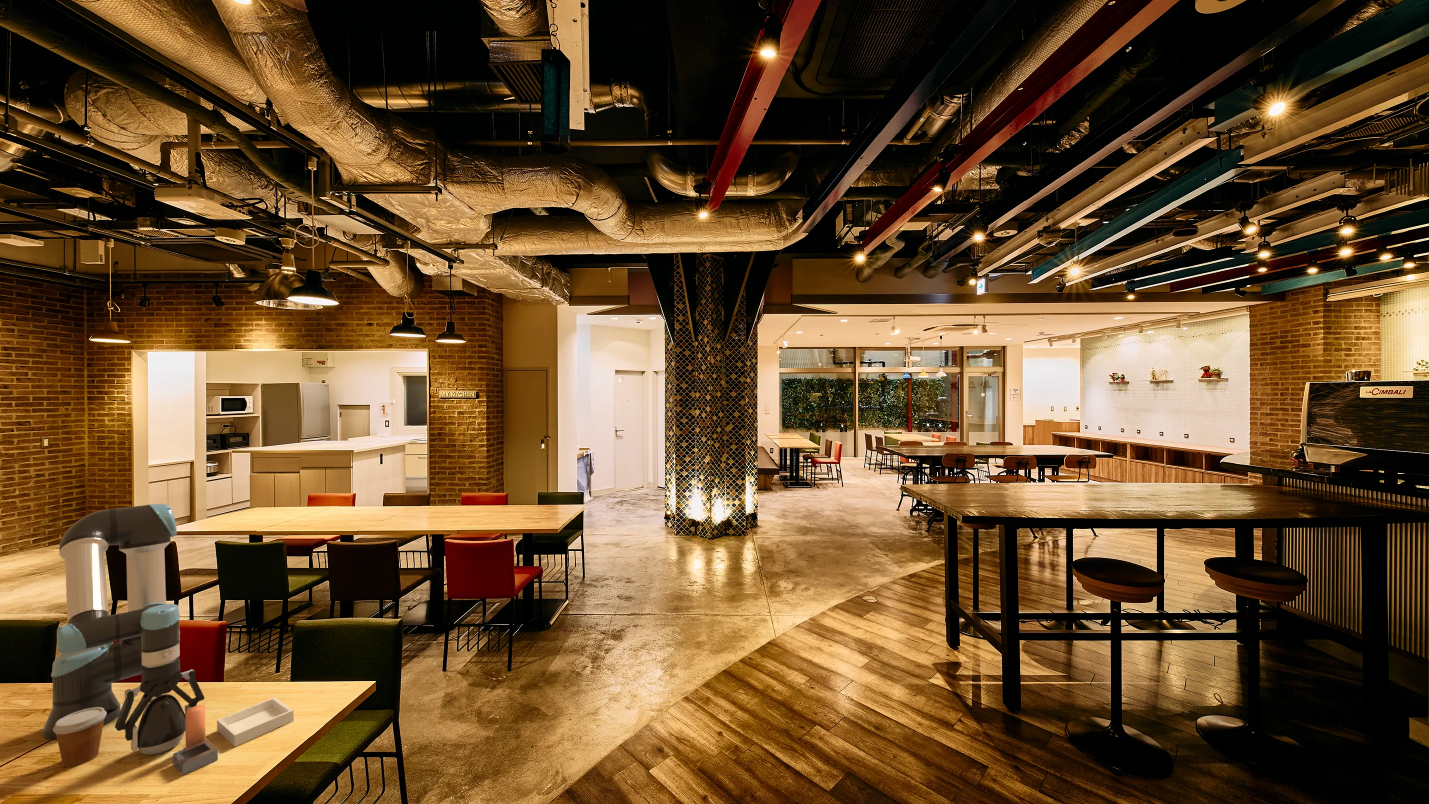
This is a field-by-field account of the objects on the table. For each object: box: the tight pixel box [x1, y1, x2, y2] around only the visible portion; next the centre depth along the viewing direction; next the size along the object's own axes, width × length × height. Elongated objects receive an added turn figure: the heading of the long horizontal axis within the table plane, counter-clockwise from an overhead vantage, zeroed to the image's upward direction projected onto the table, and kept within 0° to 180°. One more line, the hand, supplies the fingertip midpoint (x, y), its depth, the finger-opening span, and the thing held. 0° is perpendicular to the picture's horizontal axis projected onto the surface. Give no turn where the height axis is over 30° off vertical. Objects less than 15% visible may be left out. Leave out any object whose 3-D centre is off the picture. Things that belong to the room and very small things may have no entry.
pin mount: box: [172, 738, 219, 776], centre depth 144 cm, size 8×7×3 cm
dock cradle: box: [216, 696, 295, 748], centre depth 160 cm, size 14×14×3 cm
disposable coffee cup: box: [53, 707, 107, 768], centre depth 145 cm, size 10×10×12 cm
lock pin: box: [184, 704, 206, 748], centre depth 149 cm, size 4×4×11 cm
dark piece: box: [137, 693, 185, 755], centre depth 149 cm, size 10×10×15 cm
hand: (162, 738), depth 149 cm, fingers closed on dark piece, 10 cm apart
